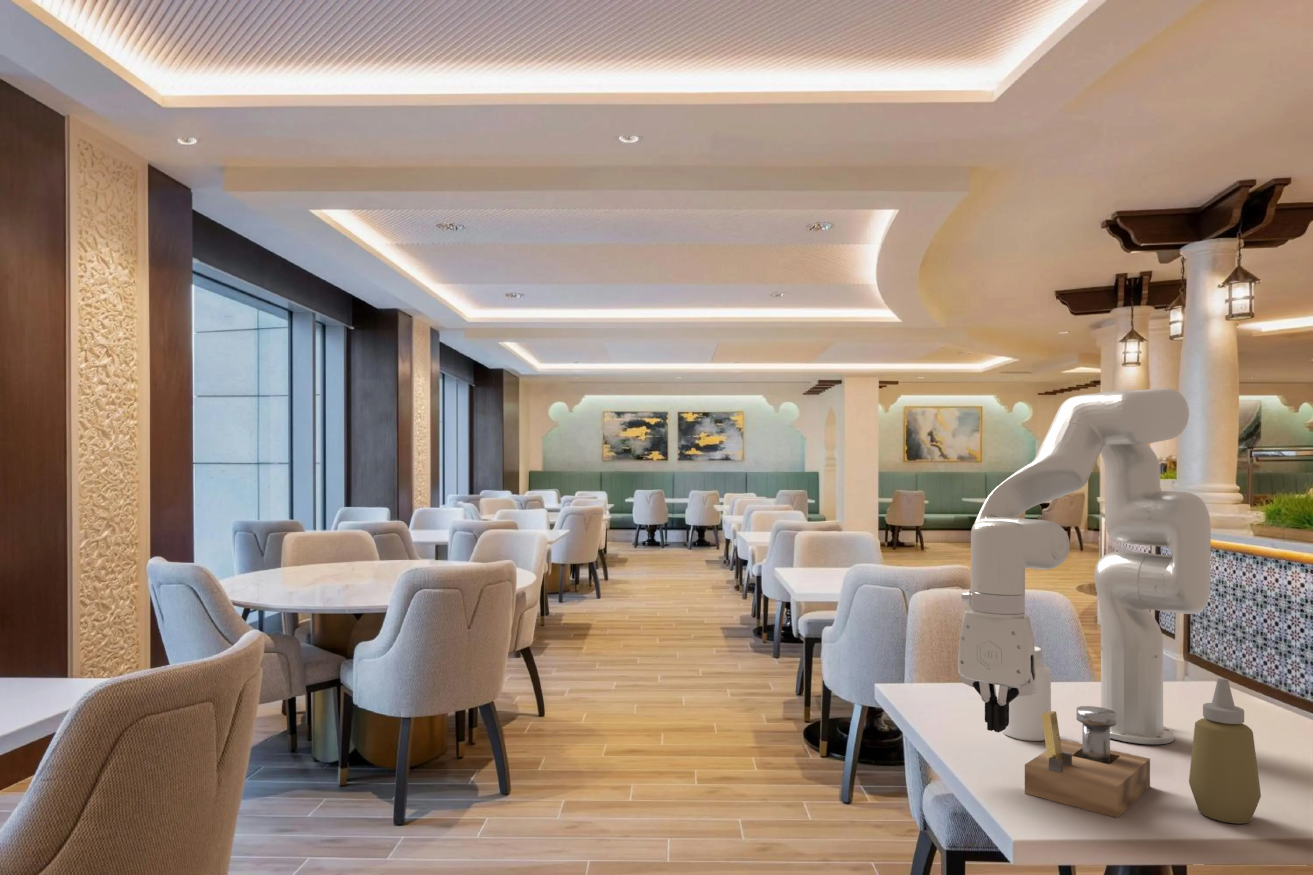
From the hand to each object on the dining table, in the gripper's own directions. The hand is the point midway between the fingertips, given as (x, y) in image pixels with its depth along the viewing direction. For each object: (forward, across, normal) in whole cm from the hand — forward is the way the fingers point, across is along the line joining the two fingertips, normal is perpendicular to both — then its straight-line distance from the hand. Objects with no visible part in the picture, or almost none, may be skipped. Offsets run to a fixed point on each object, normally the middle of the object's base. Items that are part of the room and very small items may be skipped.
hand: (996, 729), depth 127 cm
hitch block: (+7, +11, +6) cm, 14 cm away
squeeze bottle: (+8, +27, +8) cm, 29 cm away
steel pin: (+7, +11, +9) cm, 16 cm away
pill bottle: (+7, -5, +26) cm, 27 cm away
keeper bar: (-1, +8, 0) cm, 8 cm away
